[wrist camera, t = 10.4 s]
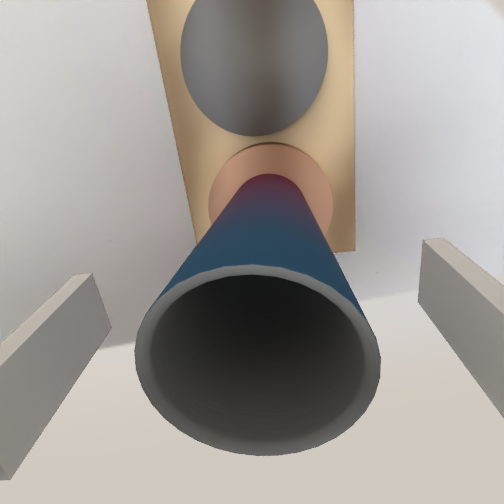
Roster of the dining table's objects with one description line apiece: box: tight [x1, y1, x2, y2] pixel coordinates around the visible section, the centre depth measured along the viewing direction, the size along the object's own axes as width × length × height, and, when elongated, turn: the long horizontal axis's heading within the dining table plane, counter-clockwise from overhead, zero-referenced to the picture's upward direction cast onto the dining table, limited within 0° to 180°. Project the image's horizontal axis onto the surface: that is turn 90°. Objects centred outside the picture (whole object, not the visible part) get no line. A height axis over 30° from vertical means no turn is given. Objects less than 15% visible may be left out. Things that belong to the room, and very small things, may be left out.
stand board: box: [146, 0, 355, 253], centre depth 23 cm, size 12×18×3 cm, turn 7°
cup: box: [135, 174, 381, 456], centre depth 16 cm, size 7×7×15 cm
